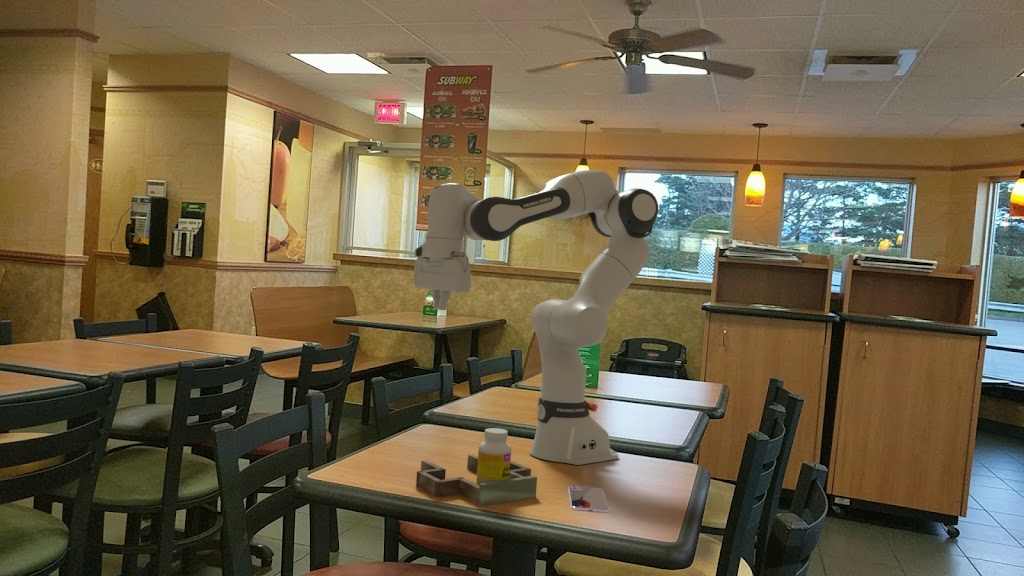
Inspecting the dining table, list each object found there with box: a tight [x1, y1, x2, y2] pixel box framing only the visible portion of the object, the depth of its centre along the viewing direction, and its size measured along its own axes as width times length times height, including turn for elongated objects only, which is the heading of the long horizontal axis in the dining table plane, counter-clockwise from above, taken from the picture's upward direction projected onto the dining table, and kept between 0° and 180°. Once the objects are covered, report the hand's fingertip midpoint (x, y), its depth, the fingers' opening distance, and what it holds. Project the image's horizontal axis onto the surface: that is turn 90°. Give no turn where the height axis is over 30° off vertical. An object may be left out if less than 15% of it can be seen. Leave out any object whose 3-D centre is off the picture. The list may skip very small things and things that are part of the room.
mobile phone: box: [567, 485, 610, 513], centre depth 147 cm, size 8×1×15 cm
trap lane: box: [415, 454, 538, 507], centre depth 151 cm, size 23×23×4 cm
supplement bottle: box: [475, 427, 512, 485], centre depth 146 cm, size 7×7×13 cm
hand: (439, 309), depth 171 cm, fingers closed
